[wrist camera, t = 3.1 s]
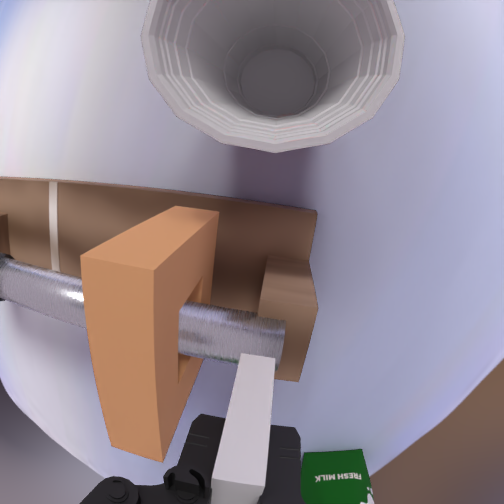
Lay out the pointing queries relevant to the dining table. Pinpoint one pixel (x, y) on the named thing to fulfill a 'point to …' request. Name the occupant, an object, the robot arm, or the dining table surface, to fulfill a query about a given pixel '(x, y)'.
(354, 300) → the dining table surface
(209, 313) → the steel pipe
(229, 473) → the robot arm
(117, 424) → the collar
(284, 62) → the plastic cup
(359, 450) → the milk carton
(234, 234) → the pipe stand
